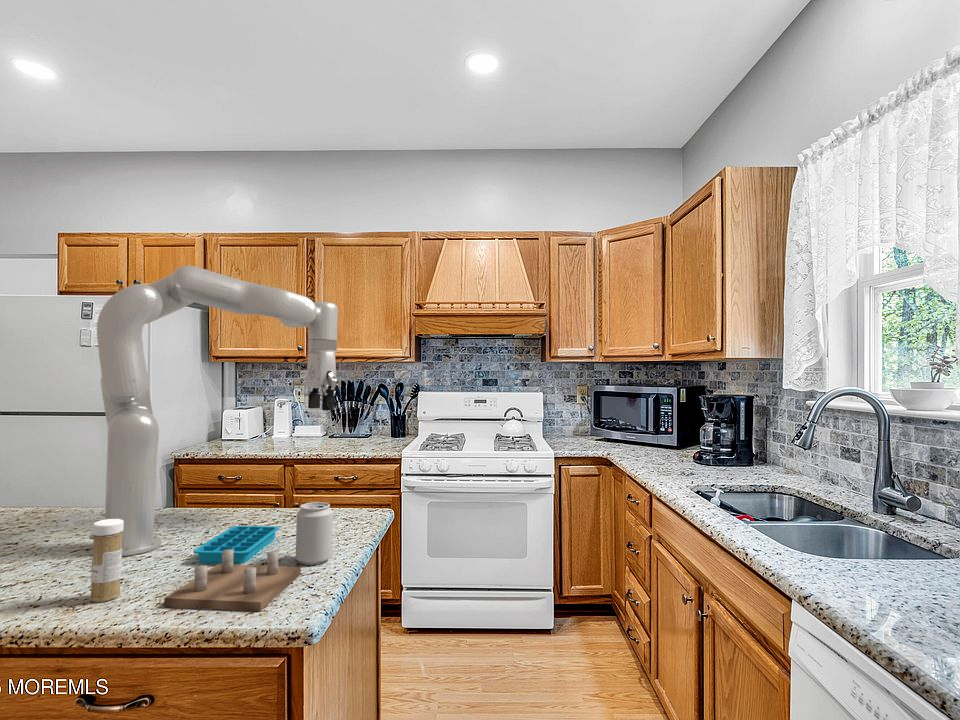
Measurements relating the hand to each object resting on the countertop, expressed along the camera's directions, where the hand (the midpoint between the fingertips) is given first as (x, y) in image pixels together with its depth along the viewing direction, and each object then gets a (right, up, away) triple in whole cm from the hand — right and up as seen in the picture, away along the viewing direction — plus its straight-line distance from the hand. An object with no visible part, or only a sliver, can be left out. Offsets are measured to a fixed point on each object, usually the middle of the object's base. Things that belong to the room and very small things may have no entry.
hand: (320, 409), depth 148 cm
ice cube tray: (-11, -30, -25) cm, 41 cm away
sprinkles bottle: (-23, -29, -53) cm, 64 cm away
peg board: (-1, -29, -48) cm, 56 cm away
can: (+8, -30, -32) cm, 44 cm away
